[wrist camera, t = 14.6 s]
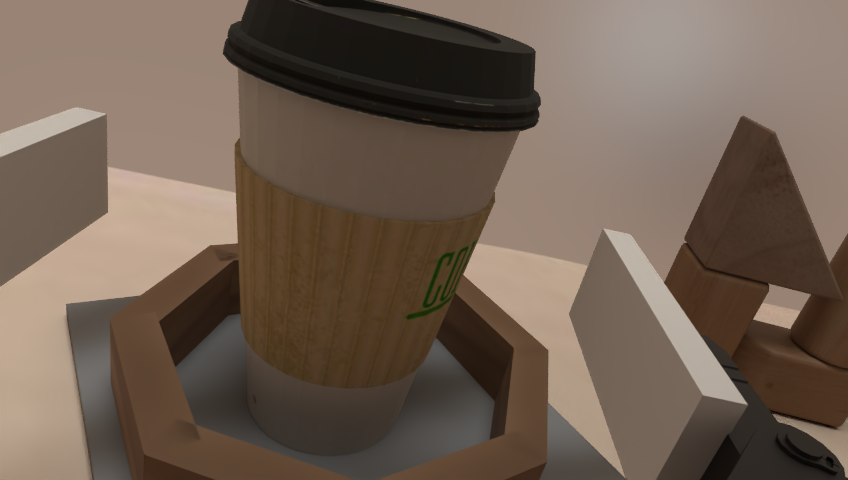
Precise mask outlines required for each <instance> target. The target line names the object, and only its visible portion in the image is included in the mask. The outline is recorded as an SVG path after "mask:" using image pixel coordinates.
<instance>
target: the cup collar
mask: <svg viewBox="0 0 848 480" xmlns="http://www.w3.org/2000/svg"><path fill="white" fill-rule="evenodd" d="M66 310H67V320H68V326H69V332H70V339H71V345H72V351H73V357H74V364H75V370H76V376H77V383H78V389H79V395H80V401H81V408H82V414H83V420H84V427H85V433H86V439H87V445H88V452H89V458H90V464H91V470H92V477H93V480H626V479H625V478H624V477H623V476H622V475H621V474H620V473H619V472H618V471H617V470H616V469H615V468H614V467H613V466H612V465H611V464H610V463H609V462H608V461H607V460H606V459H605V458H604V457H603V456H602V455H601V454H600V453H599V452H598V451H597V450H596V449H595V448H594V447H593V446H592V445H591V444H590V443H589V442H588V441H587V440H586V439H585V438H584V437H583V436H582V435H581V434H579V433H578V432H577V431H576V430H575V429H574V428H573V427H572V426H571V425H570V424H569V423H568V422H567V421H566V420H565V419H564V418H563V417H562V416H561V415H560V414H559V413H558V412H557V411H556V410H555V409H554V408H553V407H552V406H551V405H550V404H549V403H548V350H547V349H546V348H545V347H544V346H543V345H542V344H541V343H539V342H538V341H537V340H536V339H535V338H534V337H533V336H532V335H530V334H529V333H528V332H527V331H526V330H525V329H524V328H522V327H521V326H520V325H519V324H518V323H517V322H516V321H515V320H513V319H512V318H511V317H510V316H509V315H508V314H507V313H506V312H504V311H503V310H502V309H501V308H500V307H499V306H498V305H497V304H495V303H494V302H493V301H492V300H491V299H490V298H489V297H487V296H486V295H485V294H484V293H483V292H482V291H481V290H480V289H478V288H477V287H476V286H475V285H474V284H473V283H472V282H471V281H469V280H468V279H467V278H466V277H465V276H464V275H463V276H462V278H461V280H460V283H459V285H458V287H457V289H456V292H455V294H454V296H453V299H452V301H451V303H450V305H449V308H448V310H447V312H446V315H445V317H444V319H443V321H442V324H441V326H440V328H439V331H438V333H437V335H436V337H435V340H434V342H433V344H432V347H431V349H430V351H429V353H428V355H427V357H426V359H425V360H424V362H423V364H421V365H420V366H419V368H418V371H417V373H416V375H415V378H414V380H413V382H412V385H411V387H410V389H409V392H408V394H407V396H406V399H405V401H404V403H403V406H402V408H401V410H400V413H399V415H398V417H397V420H396V422H395V423H394V425H393V427H392V429H391V430H390V432H389V433H388V434H387V435H386V436H385V437H384V438H383V439H382V440H380V441H379V442H377V443H376V444H374V445H373V446H370V447H368V448H366V449H363V450H361V451H358V452H354V453H349V454H344V455H329V456H326V455H316V454H309V453H305V452H301V451H297V450H294V449H292V448H289V447H287V446H285V445H283V444H280V443H279V442H277V441H276V440H274V439H273V438H271V437H270V436H268V435H267V434H266V433H265V432H264V431H263V430H262V429H261V428H260V427H259V426H258V425H257V424H256V422H255V420H254V419H253V417H252V415H251V413H250V410H249V407H248V403H247V367H246V340H245V337H244V334H243V331H242V328H241V311H240V284H239V257H238V244H224V245H211V246H209V247H207V248H206V249H205V250H203V251H202V252H201V253H199V254H198V255H196V256H195V257H194V258H192V259H191V260H189V261H188V262H187V263H185V264H184V265H182V266H181V267H180V268H178V269H177V270H175V271H174V272H173V273H171V274H170V275H169V276H167V277H166V278H164V279H163V280H162V281H160V282H159V283H157V284H156V285H155V286H153V287H152V288H150V289H149V290H148V291H146V292H145V293H144V294H142V295H141V296H133V297H124V298H115V299H107V300H98V301H89V302H80V303H71V304H66Z"/></svg>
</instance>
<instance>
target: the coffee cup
mask: <svg viewBox="0 0 848 480" xmlns="http://www.w3.org/2000/svg"><path fill="white" fill-rule="evenodd" d="M535 53H536V52H535V50H534V49H533V48H532V47H530V46H528V45H526V44H524V43H521V42H519V41H516V40H514V39H511V38H508V37H506V36H503V35H500V34H497V33H494V32H491V31H488V30H485V29H481V28H478V27H474V26H471V25H468V24H465V23H461V22H457V21H454V20H450V19H447V18H443V17H439V16H436V15H432V14H428V13H424V12H420V11H416V10H412V9H408V8H404V7H400V6H396V5H392V4H387V3H384V2H379V1H375V0H249V1H248V3H247V6H246V9H245V12H244V14H243V17H242V20H241V21H238V22H236V23H234V24H232V25H231V26H230V29H229V31H228V38H227V39H226V41H225V45H224V49H223V55H224V56H225V57H226V58H227V60H228V61H229V62H230V63H231V64H233V65H234V66H236V67H237V68H238V83H239V84H238V86H239V117H240V138H239V139H238V141H237V142H236V144H235V177H236V204H237V231H238V257H239V284H240V311H241V328H242V331H243V334H244V337H245V340H246V367H247V403H248V407H249V410H250V413H251V415H252V417H253V419H254V420H255V422H256V424H257V425H258V426H259V427H260V428H261V429H262V430H263V431H264V432H265V433H266V434H267V435H268V436H270V437H271V438H273V439H274V440H276V441H277V442H279V443H280V444H283V445H285V446H287V447H289V448H292V449H294V450H297V451H301V452H305V453H309V454H316V455H326V456H329V455H344V454H349V453H354V452H358V451H361V450H363V449H366V448H368V447H370V446H373V445H374V444H376V443H377V442H379V441H380V440H382V439H383V438H384V437H385V436H386V435H387V434H388V433H389V432H390V430H391V429H392V427H393V425H394V423H395V422H396V420H397V417H398V415H399V413H400V410H401V408H402V406H403V403H404V401H405V399H406V396H407V394H408V392H409V389H410V387H411V385H412V382H413V380H414V378H415V375H416V373H417V371H418V368H419V366H420V365H421V364H423V362H424V360H425V359H426V357H427V355H428V353H429V351H430V349H431V347H432V344H433V342H434V340H435V337H436V335H437V333H438V331H439V328H440V326H441V324H442V321H443V319H444V317H445V315H446V312H447V310H448V308H449V305H450V303H451V301H452V299H453V296H454V294H455V292H456V289H457V287H458V285H459V283H460V280H461V278H462V276H463V273H464V271H465V269H466V267H467V264H468V262H469V260H470V257H471V255H472V253H473V251H474V248H475V246H476V244H477V241H478V239H479V237H480V234H481V232H482V230H483V228H484V225H485V223H486V221H487V219H488V216H489V214H490V212H491V209H492V207H493V205H494V202H495V192H494V190H495V188H496V186H497V184H498V181H499V179H500V177H501V174H502V172H503V170H504V167H505V165H506V163H507V160H508V158H509V156H510V154H511V151H512V149H513V146H514V144H515V142H516V140H517V137H518V135H519V132H520V131H523V130H526V129H529V128H532V127H534V126H535V125H536V124H537V123H538V118H539V111H538V107H539V106H540V105H541V100H540V96H539V94H538V93H537V92H536V91H535V90H534V73H535Z"/></svg>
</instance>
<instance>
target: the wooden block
mask: <svg viewBox="0 0 848 480" xmlns="http://www.w3.org/2000/svg"><path fill="white" fill-rule="evenodd" d="M685 241H686V242H687V243H684V244H683V245H682V246H681V248H680V250H679V252H678V254H677V256H676V259H675V261H674V263H673V265H672V267H671V269H670V271H669V273H668V276H667V278H666V280H665V282H664V284H665V285H666V287H667V288H668V290H669V291H670V292H671V294H672V295H673V297H674V298H675V300H676V301H677V303H678V304H679V305H680V307H681V308H682V310H683V311H684V313H685V314H686V316H687V317H688V319H689V320H690V321H691V323H692V324H693V326H694V327H695V329H696V330H697V332H698V333H699V334H700V335H705V336H708V337H709V338H710V339H712V340H713V341H714V342H715V343H716V344H718V345H719V346H720V347H721V348H722V349H724V350H725V351H726V352H727V353H728V355H729V356H730V357H731V359H732V360H733V361H734V363H735V364H736V365H737V367H738V368H739V369H738V371H741V372H742V374H743V375H744V376H745V378H746V379H747V381H748V385H751V386H752V387H753V389H754V390H755V392H756V393H757V394H758V396H759V397H760V398H761V400H762V401H763V403H764V404H765V405H766V407H767V408H768V409H769V410H772V411H776V412H779V413H783V414H787V415H791V416H795V417H799V418H803V419H807V420H811V421H815V422H819V423H822V424H826V425H830V426H834V427H839V426H841V425H842V424H843V423H844V421H845V420H846V418H847V417H848V234H847V236H846V237H845V239H844V241H843V242H842V244H841V246H840V247H839V249H838V251H837V252H836V254H835V256H834V257H833V259H832V260H831V262H830V264H829V262H828V260H827V257H826V255H825V252H824V250H823V247H822V245H821V243H820V240H819V237H818V235H817V233H816V230H815V228H814V225H813V223H812V220H811V218H810V215H809V213H808V211H807V208H806V206H805V204H804V201H803V198H802V196H801V194H800V191H799V189H798V186H797V184H796V181H795V179H794V176H793V174H792V172H791V169H790V167H789V164H788V162H787V159H786V157H785V154H784V152H783V150H782V147H781V145H780V143H779V140H778V138H777V135H776V133H775V132H774V131H772V130H770V129H768V128H766V127H764V126H762V125H760V124H758V123H757V122H755V121H753V120H751V119H748V118H747V117H745V116H742V117H741V118H740V120H739V122H738V124H737V126H736V129H735V130H734V133H733V135H732V137H731V139H730V141H729V143H728V145H727V148H726V150H725V152H724V154H723V156H722V158H721V160H720V162H719V165H718V167H717V169H716V171H715V173H714V175H713V177H712V180H711V182H710V184H709V186H708V188H707V190H706V192H705V195H704V197H703V199H702V201H701V203H700V206H699V207H698V209H697V212H696V214H695V216H694V218H693V220H692V222H691V225H690V227H689V229H688V231H687V233H686V235H685ZM768 283H769V284H773V285H777V286H781V287H785V288H788V289H792V290H797V291H801V292H804V293H809V294H811V296H810V297H809V299H808V300H807V302H806V304H805V306H804V307H803V309H802V310H801V312H800V314H799V315H798V317H797V319H796V320H795V322H794V324H793V325H792V327H791V329H788V328H784V327H780V326H776V325H772V324H768V323H764V322H760V321H756V320H753V318H754V316H755V315H756V313H757V311H758V309H759V308H760V306H761V304H762V302H763V300H764V299H765V297H766V295H767V293H768V292H769V284H768Z"/></svg>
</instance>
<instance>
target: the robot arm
mask: <svg viewBox="0 0 848 480" xmlns="http://www.w3.org/2000/svg"><path fill="white" fill-rule="evenodd" d="M106 213H108V174H107V114H104V113H100V112H96V111H91V110H87V109H82V108H78V107H75V108H72V109H69V110H66V111H64V112H61V113H58V114H55V115H52V116H49V117H47V118H44V119H41V120H38V121H35V122H32V123H30V124H27V125H24V126H21V127H18V128H16V129H13V130H10V131H7V132H4V133H1V134H0V286H2V285H3V284H5V283H6V282H8V281H9V280H11V279H12V278H13V277H15V276H16V275H18V274H19V273H21V272H22V271H24V270H25V269H26V268H28V267H29V266H31V265H32V264H34V263H35V262H37V261H38V260H40V259H41V258H42V257H44V256H45V255H47V254H48V253H50V252H51V251H53V250H54V249H55V248H57V247H58V246H60V245H61V244H63V243H64V242H66V241H67V240H68V239H70V238H71V237H73V236H74V235H76V234H77V233H79V232H80V231H81V230H83V229H84V228H86V227H87V226H89V225H90V224H92V223H93V222H95V221H96V220H97V219H99V218H100V217H102V216H103V215H105V214H106ZM569 315H570V318H571V321H572V324H573V327H574V330H575V333H576V335H577V338H578V341H579V344H580V347H581V350H582V353H583V356H584V359H585V361H586V364H587V367H588V370H589V373H590V376H591V379H592V382H593V385H594V387H595V390H596V393H597V396H598V399H599V402H600V405H601V408H602V410H603V413H604V416H605V419H606V422H607V425H608V428H609V431H610V434H611V436H612V439H613V442H614V445H615V448H616V451H617V454H618V457H619V460H620V462H621V465H622V468H623V471H624V474H625V477H626V480H848V478H846V477H845V472H844V468H843V466H842V465H841V463H840V462H839V460H838V459H837V457H836V456H835V455H834V454H833V453H832V452H831V451H830V450H829V449H827V448H826V447H825V446H824V445H823V444H822V443H820V442H819V441H817V440H816V439H814V438H813V437H811V436H810V435H809V434H807V433H805V432H803V431H801V430H799V429H797V428H795V427H792V426H790V425H786V424H783V423H779V422H777V420H776V419H775V418H774V416H773V415H772V413H771V412H770V411H769V409H768V408H767V407H766V405H765V404H764V403H763V401H762V400H761V398H760V397H759V396H758V394H757V393H756V392H755V390H754V389H753V387H752V386H751V385H748V381H747V379H746V378H745V376H744V375H743V374H742V372H741V371H738V369H739V368H738V367H737V365H736V364H735V363H734V361H733V360H732V359H731V357H730V356H729V355H728V353H727V352H726V351H725V350H724V349H722V348H721V347H720V346H719V345H718V344H716V343H715V342H714V341H713V340H712V339H710V338H709V337H708V336H705V335H700V334H699V333H698V332H697V330H696V329H695V327H694V326H693V324H692V323H691V321H690V320H689V319H688V317H687V316H686V314H685V313H684V311H683V310H682V308H681V307H680V305H679V304H678V303H677V301H676V300H675V298H674V297H673V295H672V294H671V292H670V291H669V290H668V288H667V287H666V285H665V284H664V282H663V281H662V280H661V278H660V276H659V275H658V274H657V272H656V271H655V269H654V268H653V266H652V265H651V264H650V262H649V261H648V259H647V258H646V256H645V255H644V253H643V252H642V250H641V249H640V247H639V246H638V245H637V243H636V242H635V240H634V239H633V237H632V236H631V235H630V234H626V233H621V232H617V231H613V230H608V229H604V228H603V230H602V232H601V235H600V237H599V240H598V242H597V245H596V248H595V250H594V253H593V255H592V258H591V260H590V263H589V265H588V268H587V270H586V273H585V275H584V278H583V280H582V283H581V285H580V288H579V290H578V293H577V295H576V298H575V300H574V303H573V305H572V308H571V310H570V313H569Z"/></svg>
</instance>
